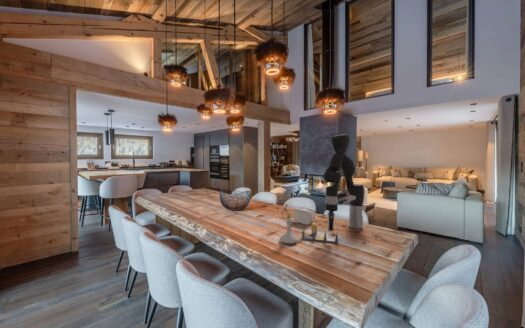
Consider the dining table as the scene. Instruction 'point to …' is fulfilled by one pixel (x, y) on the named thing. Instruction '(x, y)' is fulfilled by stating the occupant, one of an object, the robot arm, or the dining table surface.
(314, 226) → the plug mustard
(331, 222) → the plug white
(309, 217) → the cable organizer
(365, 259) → the dining table surface
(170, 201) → the dining table surface
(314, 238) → the grey compartment rack
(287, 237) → the white tapered rounded piece
